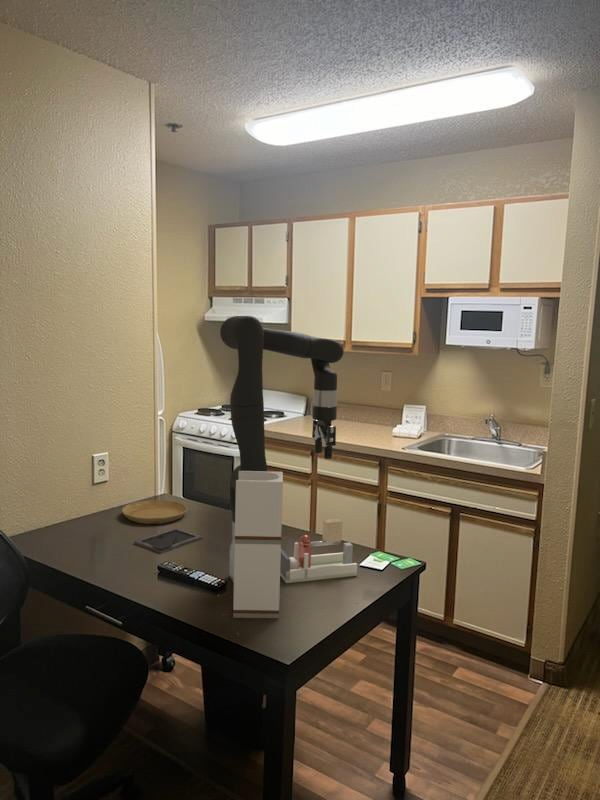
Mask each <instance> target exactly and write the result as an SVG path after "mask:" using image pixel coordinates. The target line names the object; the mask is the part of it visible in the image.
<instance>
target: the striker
mask: <svg viewBox="0 0 600 800" xmlns="http://www.w3.org/2000/svg"><path fill="white" fill-rule="evenodd" d="M342 537H343V521H342V520H341V519H340V518H328V519H323V520H322V537H321V538H322V539H321V540H317V541H316V540H315V541H310V536H309V535H307V534H304V535H302V536H300V541H299V542H298V543H299V548H298V557H299V563H300V567H301V568H304V553H308V554H309V555H308V568H310V565H311V555H312V547H320V546H321V547H323V546H333V545H340V544H341V542H342V540H343V539H342Z"/></svg>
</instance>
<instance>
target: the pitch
mask: <svg viewBox="0 0 600 800" xmlns="http://www.w3.org/2000/svg"><path fill="white" fill-rule="evenodd" d="M293 547H294V548H293V549H294V550H293V556H291V557H289V556H288V555H287V553H286V552H285V551H284V550H283V548H281V561H280V578H282V580H283V581H284V583H286V584H290V583H292V584H293V583H299V582H300V583H301V582H309V581H318V580H319V581H320V580H327V579H338V578H345V577H346V578H347V577H354V576H356V577H357V575H358V563H356V562H354V563H353V550H354V549H353V548H354V545H353V544H352V543H351V542H349V541H348V542H343V549H342V550H343V551H342V552H334V553H333V552H331V553H323V554H311V565H310V568H308V555H309V554H308V553H304V568H301V567H300V568H299V569H291V570H290V559H292V558H295V559H297V560H298V561H299V542H294V546H293Z"/></svg>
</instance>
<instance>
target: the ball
mask: <svg viewBox="0 0 600 800" xmlns="http://www.w3.org/2000/svg"><path fill="white" fill-rule="evenodd" d="M299 568H300V563H299V561H298V560H297V559H295V558H292V559H290V570H291V569H299Z"/></svg>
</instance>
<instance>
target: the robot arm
mask: <svg viewBox="0 0 600 800" xmlns="http://www.w3.org/2000/svg"><path fill="white" fill-rule="evenodd" d="M219 333H220V334H219V335H220V336H219V337H220V338H221V341H222V342H223V343H224V345H225V346H227V347H228V348H230V349H233V350H237V360H238V368H237V375H236V378H235V381H234V383H233V386H232V389H231V393H230V399H229V400H230V401H229V406H230V408H229V409H230V420H231V427H232V431H233V434H234V437H235V440H236V443H237V447H238V451H239V465H237V466H236V467H235V468H234V470H233V471H232V473H231V475H230V480H229V481H230V482H229V505H230V506H229V507H230V512H231V516H232V517H231V544H230V545H229V568H228V570H229V573H228V574H229V578H230V580H231V581H232V583H233V584H234V554H235V505H236V480H238V479H239V471H268V466H267V465H268V464H267V458H266V449H265V448H266V446H265V445H266V444H265V442H266V441H265V440H266V437H265V407H264V406H265V405H264V404H265V401H264V389H263V387H264V386H263V359H264V358H263V357H264V355H263V354H264V350H265V351H270V352H274V353H277V354H278V353H279V354H283V355H287V356H292V357H295V358H301V359H310V361H311V365H312V371H313V374H314V383H313V384H314V385H313V395H312V414H311V417H312V419H313V420H312V431H311V432H312V434H311V437H312V439H313V441H314V453H315V454H322V453H324V455H323V458H324V459H326V460H331V459H332V456H333V455H332V454H333V448H334V447H335V446H336V443H337V442H336V439H337V427H336V425H332V422H333V421H336V420H337V414H338V413H337V412H338V391H337V390H338V375H337V372H336V371H334V370H333V369H331V367H330V364H333V363H334V364H335V363H338V362H339V361H340V360H342V358H343V356H344V351H345V350H344V347H343V346H342V344H341V343H340V342H339V341H338V340H335V339H331V338H324V337H316V336H311V335H309V334H306V333H305V334H304V333H300V332H296V331H292V330H291V331H289V330H285V329H283V330H281V329H273V328H266V327H263V325H262V322H261V321H260V320H259V319H258V318H257V317H255V316H252V315H235V316H234V315H233V316H231V317H229V318H227V319H225V320H224V321H223V322H222V324H221V325H220V330H219ZM323 444H324V449H323ZM323 450H324V451H323Z"/></svg>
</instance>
